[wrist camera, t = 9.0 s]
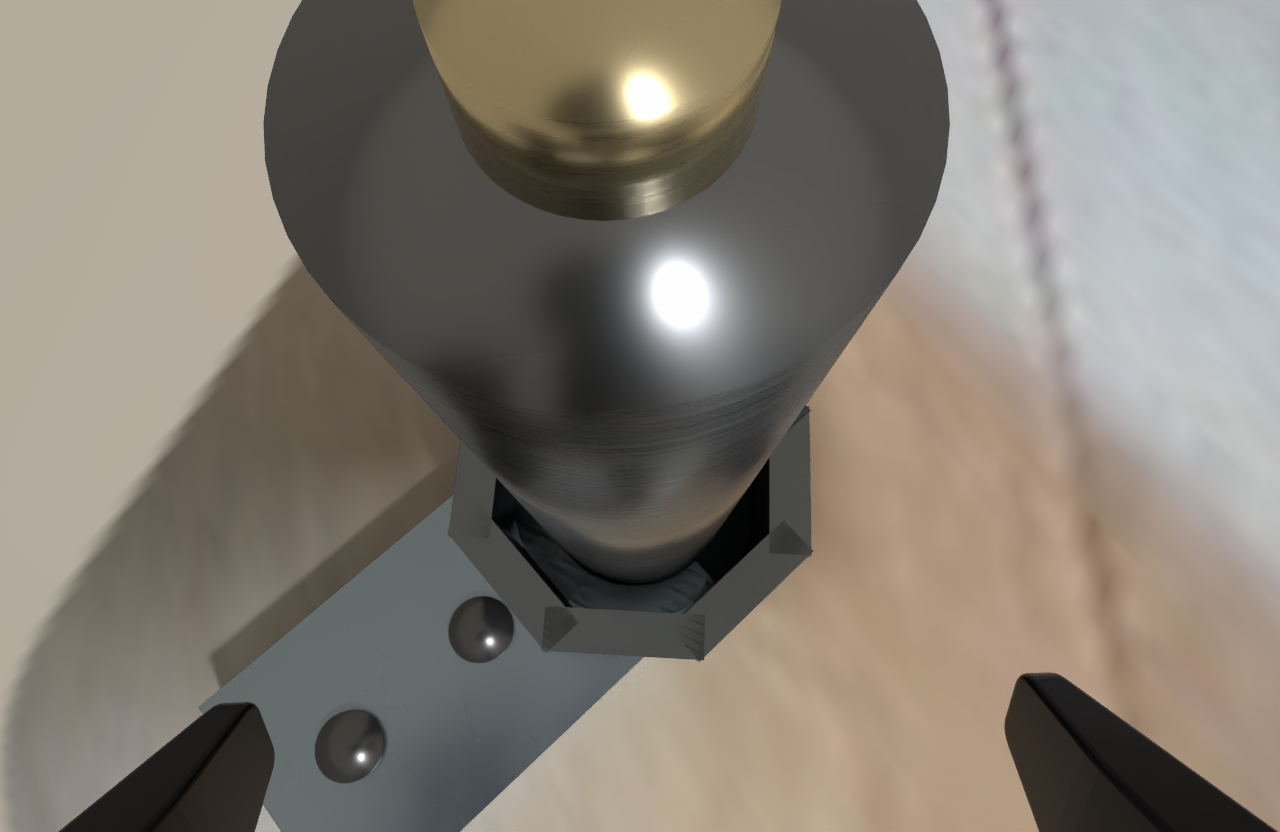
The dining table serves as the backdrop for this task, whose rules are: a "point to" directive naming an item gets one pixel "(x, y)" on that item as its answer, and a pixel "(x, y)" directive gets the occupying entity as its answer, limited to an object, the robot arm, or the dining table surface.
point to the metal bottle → (609, 229)
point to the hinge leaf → (489, 651)
